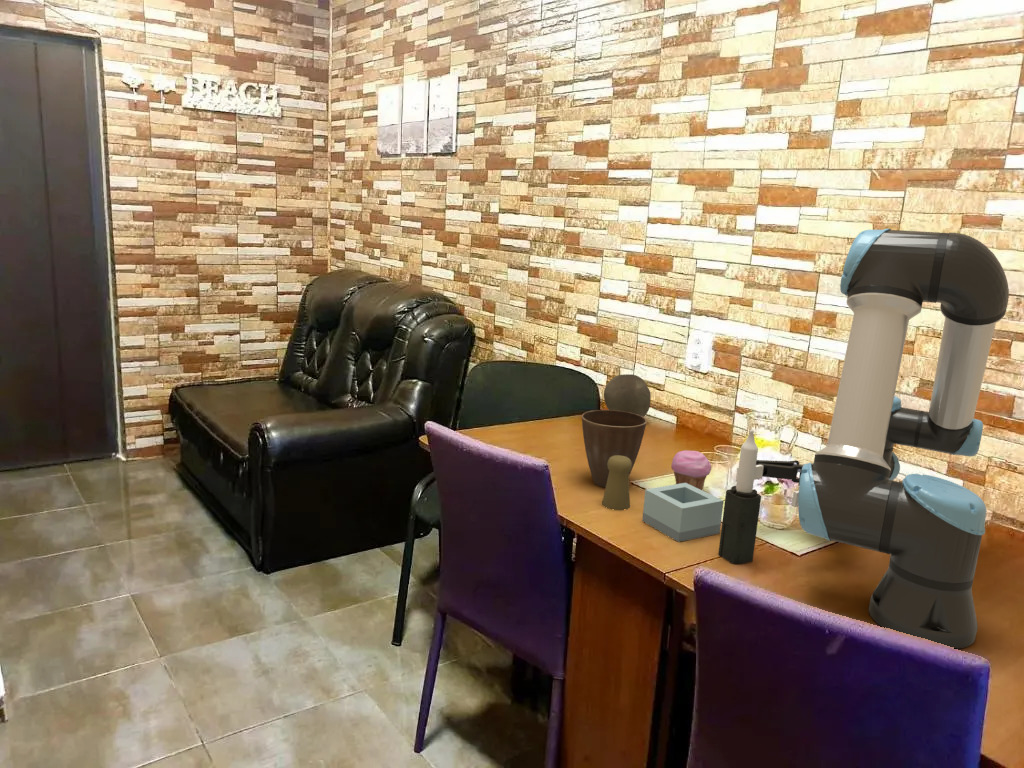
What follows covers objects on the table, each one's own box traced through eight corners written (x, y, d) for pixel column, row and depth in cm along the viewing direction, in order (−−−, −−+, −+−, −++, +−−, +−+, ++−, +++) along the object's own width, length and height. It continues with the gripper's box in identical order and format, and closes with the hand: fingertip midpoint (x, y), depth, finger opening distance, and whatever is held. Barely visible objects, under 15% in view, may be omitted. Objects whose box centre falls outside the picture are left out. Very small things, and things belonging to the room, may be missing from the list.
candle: (715, 553, 141) (731, 426, 135) (736, 549, 143) (752, 424, 137) (734, 565, 136) (751, 434, 131) (755, 561, 138) (773, 432, 133)
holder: (719, 533, 150) (723, 500, 149) (678, 542, 145) (682, 508, 143) (682, 513, 160) (685, 482, 158) (642, 521, 154) (645, 489, 153)
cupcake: (691, 501, 167) (696, 459, 164) (661, 490, 173) (665, 449, 171) (715, 494, 172) (720, 453, 170) (684, 483, 179) (689, 443, 177)
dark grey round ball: (623, 413, 241) (627, 368, 238) (657, 424, 231) (662, 377, 227) (593, 419, 232) (596, 372, 229) (627, 430, 222) (631, 381, 218)
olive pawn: (629, 511, 159) (633, 462, 156) (600, 508, 160) (605, 459, 158) (630, 501, 165) (635, 454, 162) (603, 498, 166) (607, 451, 163)
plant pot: (591, 496, 167) (596, 427, 163) (567, 473, 181) (572, 410, 177) (651, 492, 171) (658, 425, 168) (624, 471, 185) (629, 408, 181)
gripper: (892, 513, 141) (817, 530, 130) (786, 471, 162) (714, 484, 152) (899, 475, 139) (823, 490, 129) (791, 438, 160) (719, 448, 150)
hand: (764, 486), depth 140 cm, fingers open, 13 cm apart
